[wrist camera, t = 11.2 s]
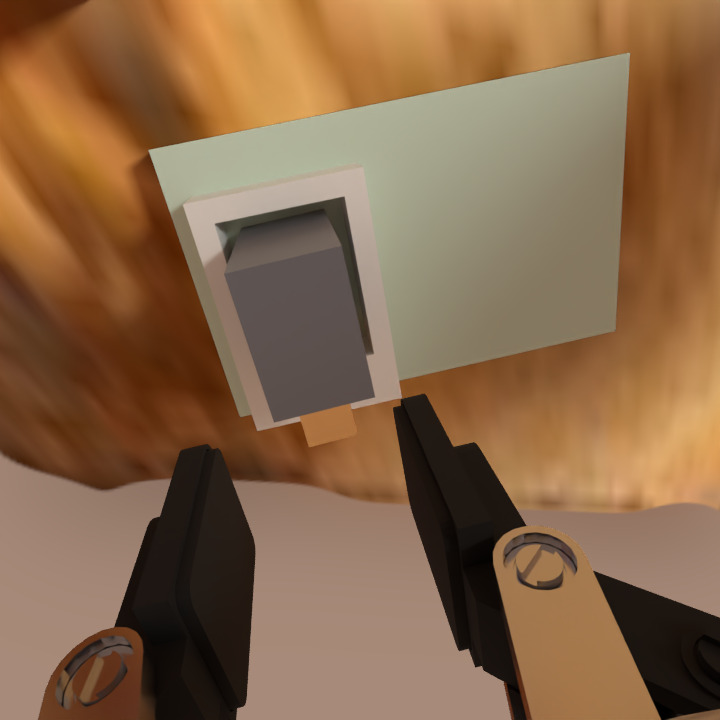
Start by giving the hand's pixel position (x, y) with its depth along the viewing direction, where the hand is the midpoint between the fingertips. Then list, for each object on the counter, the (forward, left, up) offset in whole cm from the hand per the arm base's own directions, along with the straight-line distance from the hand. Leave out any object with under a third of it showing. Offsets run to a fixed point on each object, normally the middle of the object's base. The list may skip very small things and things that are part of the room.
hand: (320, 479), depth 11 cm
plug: (0, 0, -16) cm, 16 cm away
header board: (-6, 0, -17) cm, 18 cm away
